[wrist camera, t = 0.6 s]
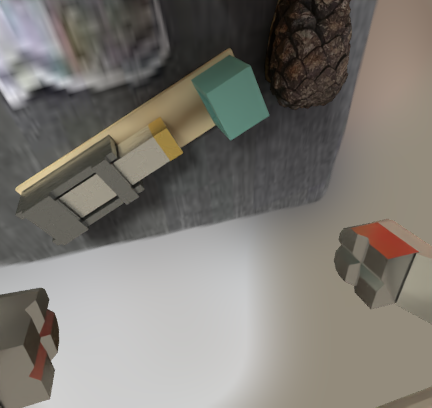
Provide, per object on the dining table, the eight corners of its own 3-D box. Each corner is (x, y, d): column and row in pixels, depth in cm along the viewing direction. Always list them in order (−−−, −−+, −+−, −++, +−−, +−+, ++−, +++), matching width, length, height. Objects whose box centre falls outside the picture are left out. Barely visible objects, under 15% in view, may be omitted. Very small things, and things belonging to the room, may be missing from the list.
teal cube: (189, 78, 41) (206, 94, 35) (227, 53, 41) (250, 65, 35) (212, 120, 46) (230, 140, 40) (246, 98, 45) (269, 115, 40)
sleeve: (22, 191, 41) (14, 218, 36) (109, 134, 41) (112, 154, 36) (60, 221, 46) (57, 249, 41) (139, 170, 45) (145, 192, 40)
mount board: (16, 187, 41) (15, 190, 41) (228, 47, 40) (231, 48, 40) (60, 222, 47) (60, 225, 46) (250, 99, 46) (252, 101, 45)
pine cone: (334, -53, 38) (397, -61, 30) (314, 93, 49) (357, 114, 41) (257, -49, 36) (305, -57, 28) (254, 103, 46) (288, 128, 39)
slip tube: (35, 198, 41) (31, 216, 38) (160, 116, 41) (166, 127, 38) (58, 216, 44) (56, 234, 41) (176, 140, 43) (183, 152, 40)
